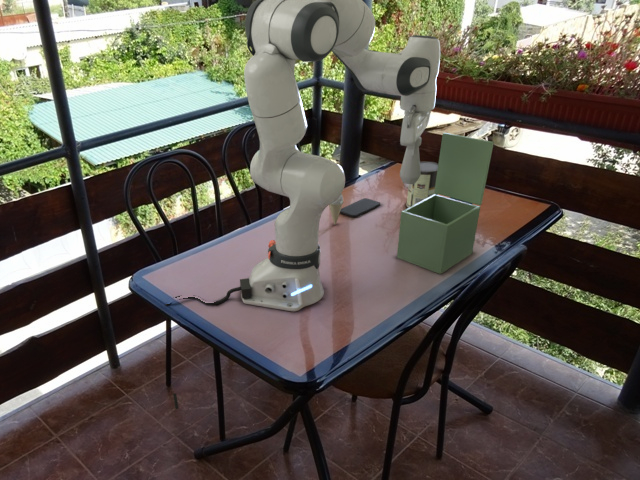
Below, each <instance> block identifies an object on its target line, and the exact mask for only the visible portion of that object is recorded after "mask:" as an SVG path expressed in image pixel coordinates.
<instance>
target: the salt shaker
mask: <svg viewBox="0 0 640 480" xmlns="http://www.w3.org/2000/svg"><path fill="white" fill-rule="evenodd" d="M421 145H422V137H421V136H420V137H419V138H418V140H417V141H416V143H415V153H414V155H413V156H410V155H407V150H408V149H407V147H406V148H405V152H404V156H403V160H402V162H401V167H400V171H399V177H400V179H401V182H402V184H405V185H409V184H415V183H416V182H417V180H418V179H419V177H420V175H421V171H420V162H421V160H420V159H421V158H420V148H419V147H420V146H421Z"/></svg>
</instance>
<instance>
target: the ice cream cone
mask: <svg viewBox="0 0 640 480" xmlns="http://www.w3.org/2000/svg"><path fill="white" fill-rule="evenodd" d="M343 204H344V195H343V194H342V193H341V195H340V196H339V198H338V199H337V200H336V201H335V202H333V203H332V204H330V205H328V207H329V210H330V213H331V218H332V221H333V225H337V222H338V220H339V216H340V214H341V213H340V210H341V209H342V208H343Z"/></svg>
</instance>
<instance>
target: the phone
mask: <svg viewBox="0 0 640 480" xmlns="http://www.w3.org/2000/svg"><path fill="white" fill-rule="evenodd" d="M379 206H381V202H380V201H377V200H374V199H370V198H366V197H365V198H361V199H360V200H357V201H355V202H353V203H351V204H348V205H347V206H344V207H341V210H340V213H339V214H343V215H345V216H348V217H350V218H351V217H352V218H357V217H358V216H359V217H360V216H361V215H363V214H365V213H367V212H370V211H371V210H373V209H375V208H377V207H379Z"/></svg>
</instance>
